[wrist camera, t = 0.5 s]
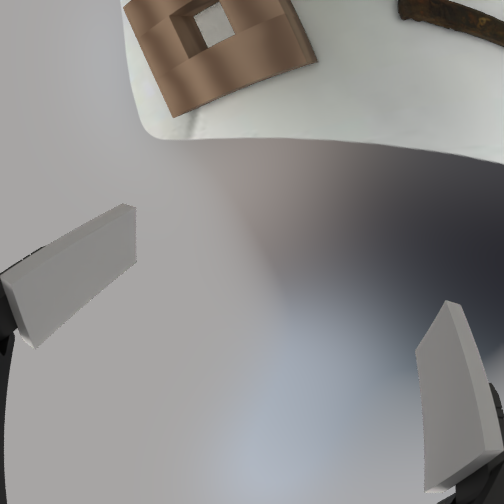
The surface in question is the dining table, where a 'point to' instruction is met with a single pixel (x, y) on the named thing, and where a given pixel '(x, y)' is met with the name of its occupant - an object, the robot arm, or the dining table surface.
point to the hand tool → (454, 18)
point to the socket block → (216, 47)
